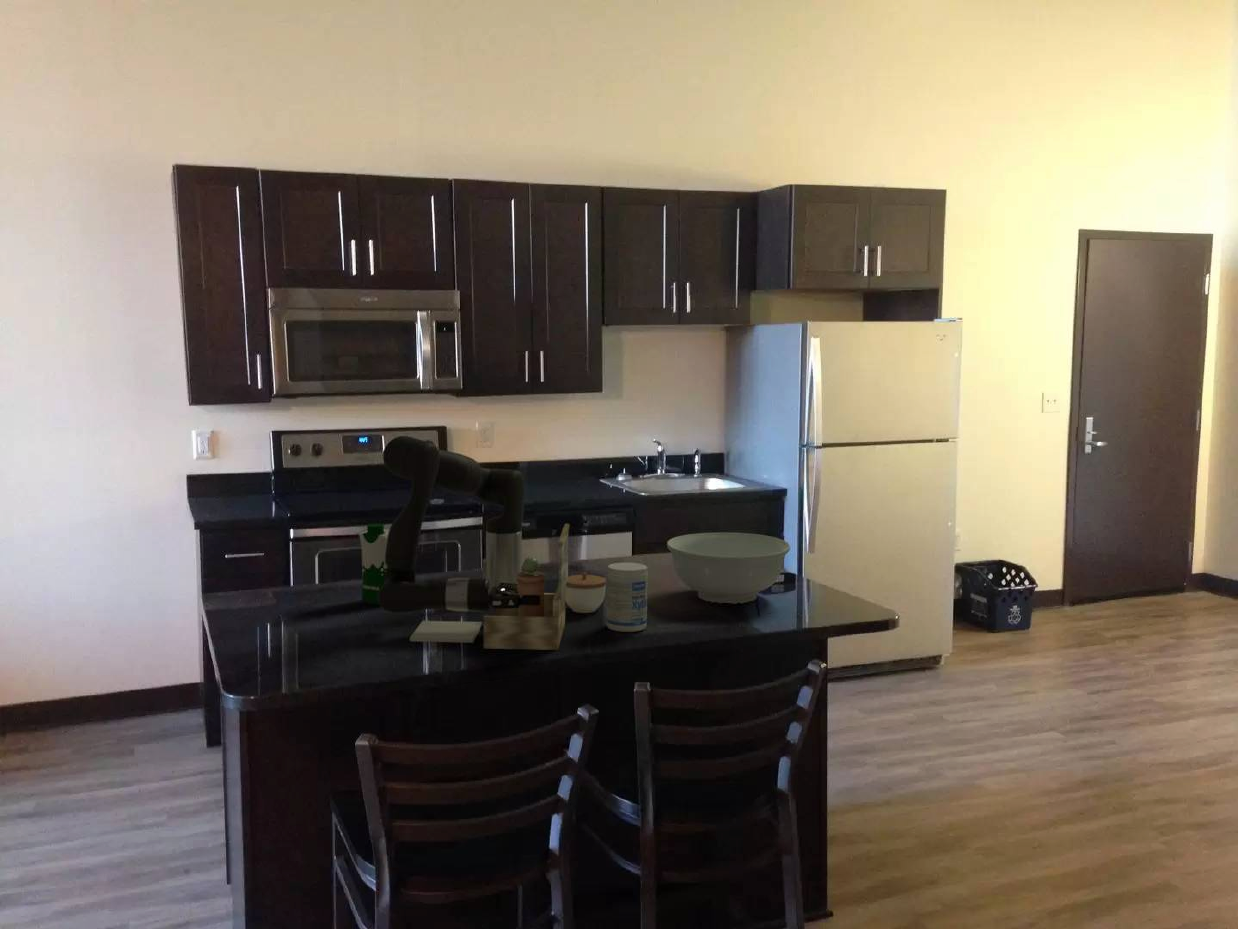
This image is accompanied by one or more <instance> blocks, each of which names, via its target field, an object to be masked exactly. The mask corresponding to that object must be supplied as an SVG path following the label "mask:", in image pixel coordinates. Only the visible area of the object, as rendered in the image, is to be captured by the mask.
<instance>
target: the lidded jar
mask: <svg viewBox="0 0 1238 929" xmlns="http://www.w3.org/2000/svg"><path fill="white" fill-rule="evenodd" d="M606 586H607V578H605V577H603V576H600V575H595V574H594V575H593V574H587V572H582V574H576V575H574V574H573V575H568V579H567V583H566V586H565V604H567V606H568V607H569V608H570V609H571V611H572V612H574V613H580V614H589V613H594V612H596V611H597V609H598V608H599V607H600V606H602V603H603V602H604V601H605V595H606Z"/></svg>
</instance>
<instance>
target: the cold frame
mask: <svg viewBox="0 0 1238 929" xmlns="http://www.w3.org/2000/svg"><path fill="white" fill-rule="evenodd" d="M569 530H570V523H565V524H564V526H563V528H562V530H561V534H560V536H559V539H558V541H557V547H558V550H559V551H558V584H557V587H556V590H555V592H544V617H531V616H518V608H502V609H496V615H483V649H489V650H490V649H493V650H495V649H496V650H498V649H499V650H501V649H503V650H537V651H538V650H541V651H542V650H545V651H546V650H547V651H549V650H550V651H554V650H555V651H559V648H560V645H561V644H560V643H561V640H562V637H563V632H564V629H565V625H566V624H565V623H566V600H565V586H566V583H567V579H568V576H569ZM508 603H510V602H508Z"/></svg>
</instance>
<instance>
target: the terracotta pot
mask: <svg viewBox="0 0 1238 929" xmlns="http://www.w3.org/2000/svg"><path fill="white" fill-rule="evenodd" d="M539 567H540V564H539V561H538V559H536V558H535V557H532V556H530V557H526V558H525V559H524V561H522V569H523V570H524V571H522V572H520V573H517V574H516V581H518V594H522V595H523V597H524V595H540V597H541V599H540V605H524V604H523V606H519V608H518V616H531V617H544V593H545V581H546V573H544V572H541V571H538V569H539Z"/></svg>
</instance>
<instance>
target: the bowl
mask: <svg viewBox="0 0 1238 929" xmlns="http://www.w3.org/2000/svg"><path fill="white" fill-rule="evenodd" d="M666 547H667V549H668V550H669V551H670V553H671V556H672V562H673V566H674V570H675V572H676V575H677V576H678V578H679V579H680V580H681V581H682V583H684V584H685V585H687V586H688V587H689V588H690V589H693V590H695V591H697V597H698V598H699V599H700V598H701V599H700V600H702V599H703V601H705V602H708V601H711V602H710V603H713V602H718V603H717V604H722V603H729V604H728V605H734V604H735V605H736V604H737V603H740V604H746V602H747V603H750V601H751V602H753V601H755V600H757V597H758V593H759V592H761V591H764V590H766V589H768V588H769V587H771V586H772V585H773V584H775V583H776V582H777V580H778V578H779V577H780V576H781V573H782V570H783V565H784V560H785V558H786V555H787V554H788V553H789V552H790V551H791V545H790V543H789V542H787V541H786V540H783V539H781V538H778V537H776V536H769V535H764V534H756V533H746V532H702V533H701V532H700V533H691V534H690V533H689V534H684V535H679V536H675V537H673V538H671V539H668V540H667V543H666ZM730 603H732V604H730ZM737 605H738V604H737Z"/></svg>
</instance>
